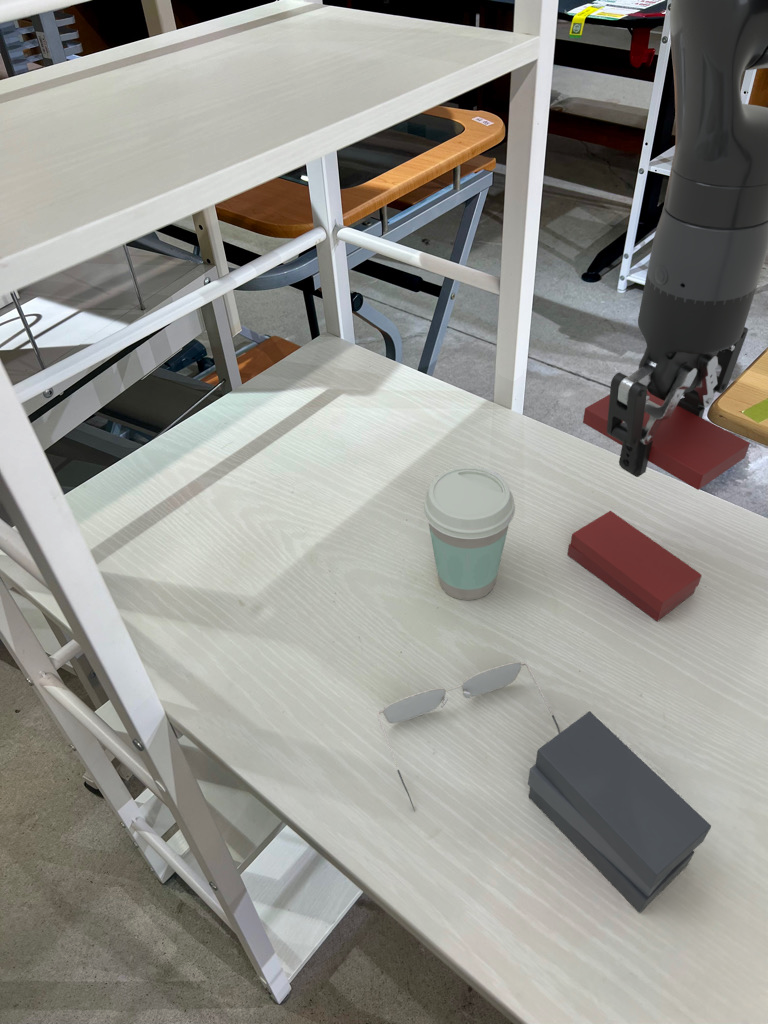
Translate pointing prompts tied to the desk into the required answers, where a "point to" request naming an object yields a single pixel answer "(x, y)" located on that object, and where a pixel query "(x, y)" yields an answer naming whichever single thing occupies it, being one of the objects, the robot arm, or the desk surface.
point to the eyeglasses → (434, 697)
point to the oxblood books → (633, 565)
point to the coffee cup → (468, 528)
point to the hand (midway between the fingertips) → (657, 453)
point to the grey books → (615, 810)
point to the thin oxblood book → (681, 443)
